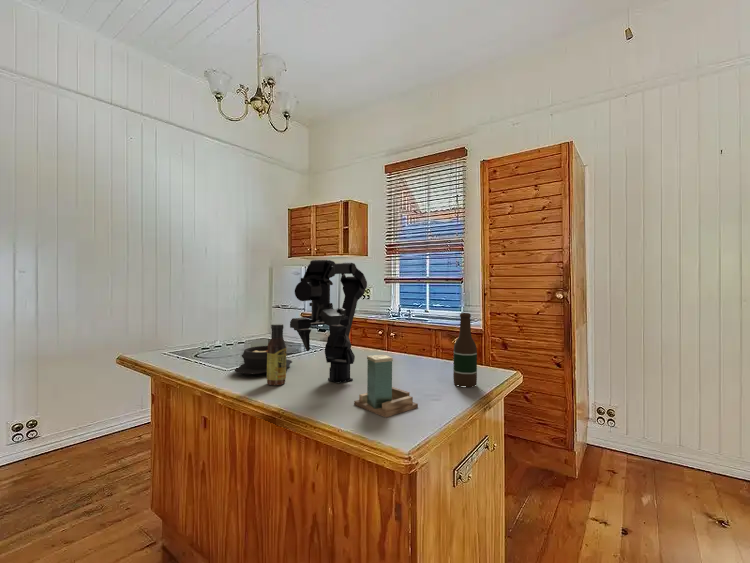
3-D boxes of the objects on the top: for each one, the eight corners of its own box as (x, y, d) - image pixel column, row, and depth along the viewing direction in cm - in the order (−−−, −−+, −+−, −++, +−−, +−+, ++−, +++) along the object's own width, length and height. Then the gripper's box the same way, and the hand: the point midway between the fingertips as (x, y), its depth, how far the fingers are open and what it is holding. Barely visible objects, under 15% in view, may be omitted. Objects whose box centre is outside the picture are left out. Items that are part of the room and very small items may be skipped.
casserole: (264, 381, 131) (264, 356, 131) (221, 376, 137) (221, 352, 137) (303, 366, 154) (303, 345, 154) (265, 362, 161) (265, 342, 161)
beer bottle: (478, 383, 129) (479, 312, 129) (474, 389, 122) (475, 314, 122) (456, 380, 133) (456, 311, 133) (450, 386, 126) (451, 313, 125)
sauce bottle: (280, 387, 123) (281, 325, 123) (263, 385, 125) (263, 325, 125) (289, 381, 130) (289, 323, 130) (272, 380, 131) (272, 323, 131)
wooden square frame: (385, 396, 114) (386, 384, 114) (417, 407, 104) (417, 394, 104) (354, 404, 106) (354, 392, 106) (385, 417, 97) (385, 403, 97)
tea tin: (366, 403, 105) (367, 356, 105) (383, 400, 107) (384, 354, 107) (374, 409, 100) (375, 359, 100) (392, 406, 102) (392, 358, 102)
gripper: (308, 301, 107) (307, 357, 107) (360, 300, 120) (359, 349, 120) (289, 300, 116) (289, 351, 116) (339, 298, 128) (339, 344, 128)
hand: (320, 349), depth 120 cm, fingers open, 9 cm apart
